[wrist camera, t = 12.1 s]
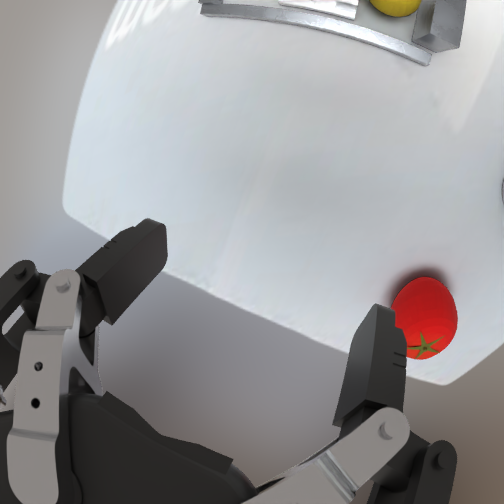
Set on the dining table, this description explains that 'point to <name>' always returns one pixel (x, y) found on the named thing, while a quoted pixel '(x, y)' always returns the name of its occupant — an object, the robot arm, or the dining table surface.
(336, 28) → the frame
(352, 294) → the dining table surface
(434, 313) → the tomato
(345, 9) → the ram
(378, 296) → the dining table surface
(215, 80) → the dining table surface
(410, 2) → the lemon
